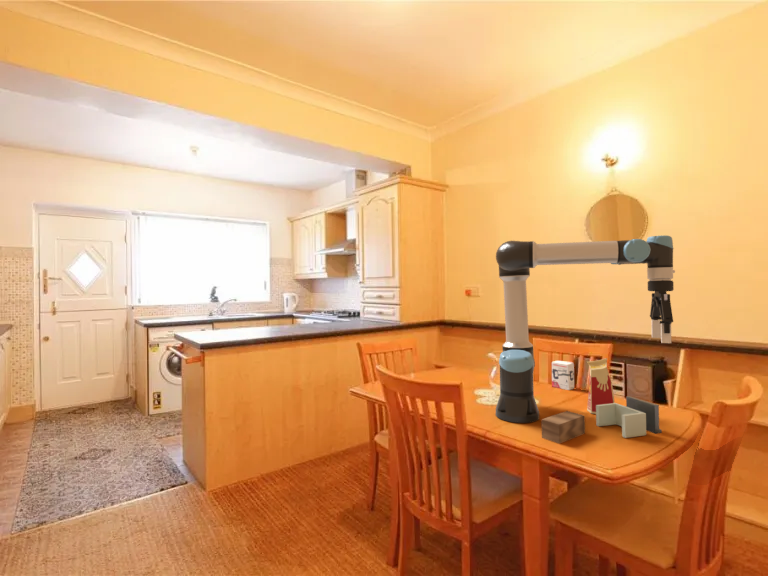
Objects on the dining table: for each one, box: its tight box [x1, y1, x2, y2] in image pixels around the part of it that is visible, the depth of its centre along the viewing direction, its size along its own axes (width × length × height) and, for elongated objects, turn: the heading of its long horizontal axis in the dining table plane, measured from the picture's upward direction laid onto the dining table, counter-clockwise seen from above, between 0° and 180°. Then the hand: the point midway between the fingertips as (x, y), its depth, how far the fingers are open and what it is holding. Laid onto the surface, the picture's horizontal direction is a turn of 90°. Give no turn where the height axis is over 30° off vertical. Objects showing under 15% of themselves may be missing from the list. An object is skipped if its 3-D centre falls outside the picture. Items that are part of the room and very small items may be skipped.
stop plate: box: [625, 395, 663, 435], centre depth 134 cm, size 2×11×9 cm, turn 14°
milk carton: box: [586, 358, 615, 415], centre depth 152 cm, size 9×9×20 cm
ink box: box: [551, 360, 575, 391], centre depth 187 cm, size 8×5×12 cm, turn 36°
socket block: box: [595, 402, 647, 439], centre depth 132 cm, size 8×12×7 cm
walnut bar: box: [541, 410, 586, 445], centre depth 129 cm, size 14×6×6 cm, turn 124°
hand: (661, 340), depth 143 cm, fingers open, 13 cm apart
